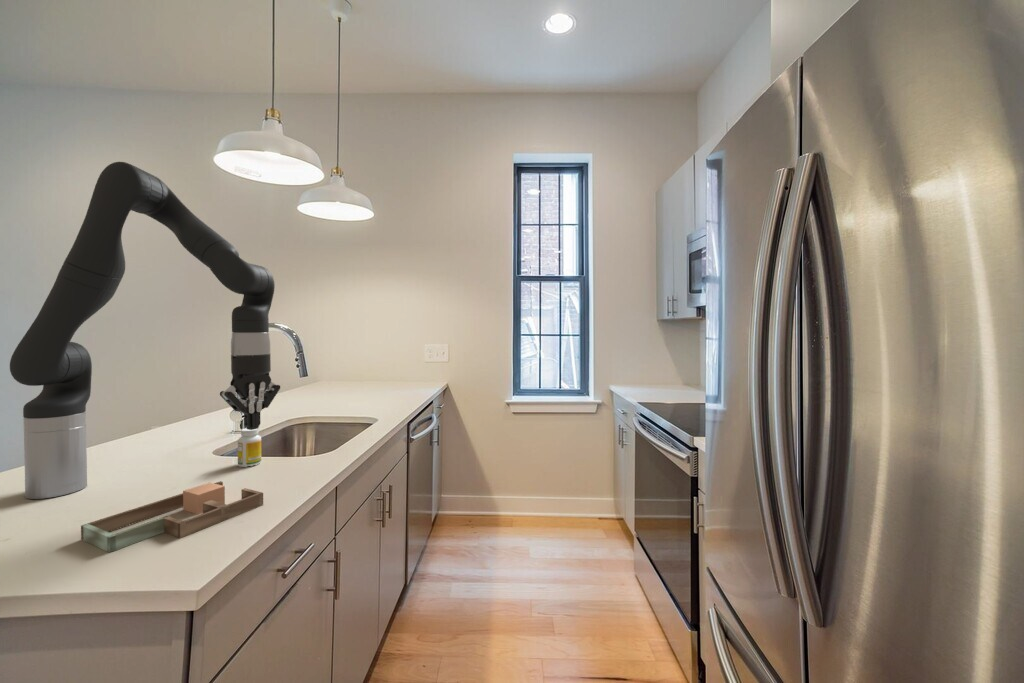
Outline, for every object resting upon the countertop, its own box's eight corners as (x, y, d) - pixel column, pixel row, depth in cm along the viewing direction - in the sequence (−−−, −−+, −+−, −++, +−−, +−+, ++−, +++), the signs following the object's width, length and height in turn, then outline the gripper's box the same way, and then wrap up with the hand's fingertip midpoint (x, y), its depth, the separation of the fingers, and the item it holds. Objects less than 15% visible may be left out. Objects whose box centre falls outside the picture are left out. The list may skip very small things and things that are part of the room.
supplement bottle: (233, 467, 107) (233, 431, 107) (244, 461, 113) (244, 426, 112) (255, 467, 108) (254, 431, 108) (265, 460, 113) (265, 426, 113)
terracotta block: (183, 510, 83) (183, 490, 83) (209, 500, 87) (209, 482, 87) (198, 514, 81) (198, 494, 81) (224, 505, 85) (224, 486, 85)
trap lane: (81, 539, 71) (80, 525, 71) (220, 492, 91) (220, 481, 91) (126, 559, 65) (125, 544, 65) (264, 504, 86) (264, 492, 86)
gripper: (267, 350, 100) (268, 421, 100) (209, 353, 88) (210, 434, 88) (289, 351, 97) (290, 424, 97) (231, 354, 85) (233, 437, 85)
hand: (252, 428), depth 93 cm, fingers closed
